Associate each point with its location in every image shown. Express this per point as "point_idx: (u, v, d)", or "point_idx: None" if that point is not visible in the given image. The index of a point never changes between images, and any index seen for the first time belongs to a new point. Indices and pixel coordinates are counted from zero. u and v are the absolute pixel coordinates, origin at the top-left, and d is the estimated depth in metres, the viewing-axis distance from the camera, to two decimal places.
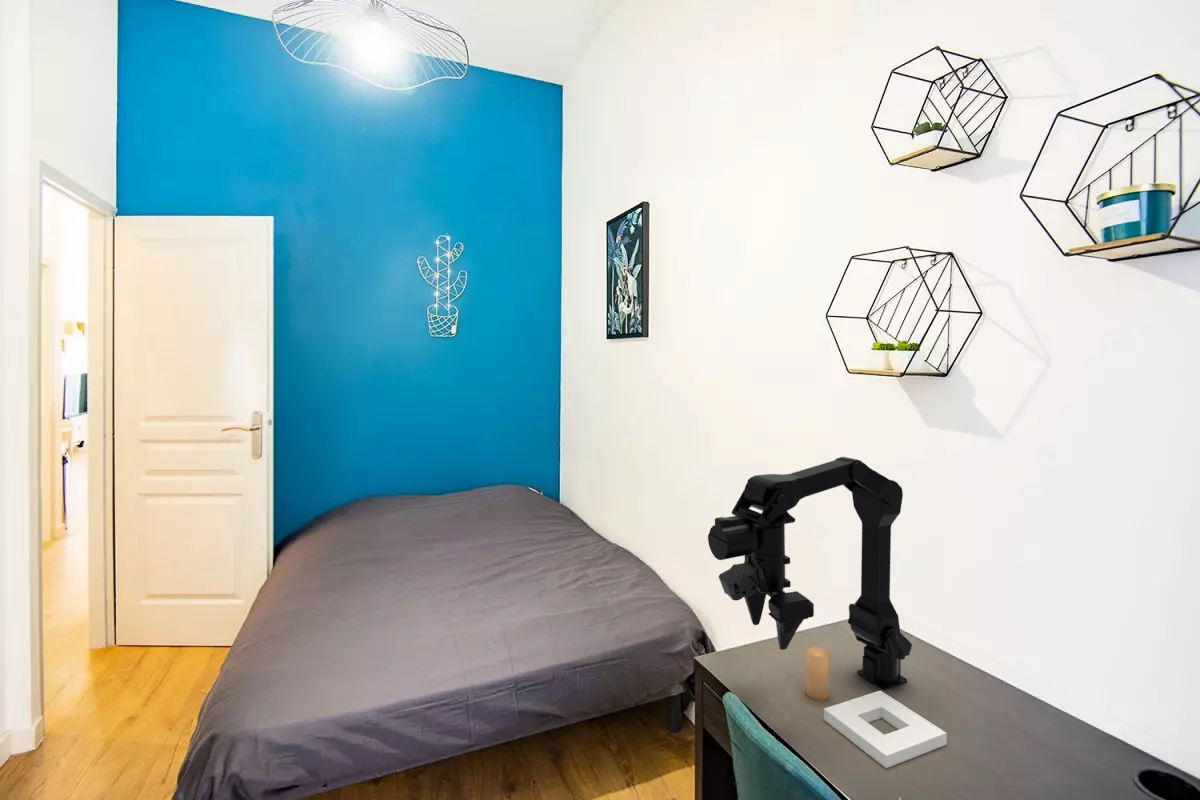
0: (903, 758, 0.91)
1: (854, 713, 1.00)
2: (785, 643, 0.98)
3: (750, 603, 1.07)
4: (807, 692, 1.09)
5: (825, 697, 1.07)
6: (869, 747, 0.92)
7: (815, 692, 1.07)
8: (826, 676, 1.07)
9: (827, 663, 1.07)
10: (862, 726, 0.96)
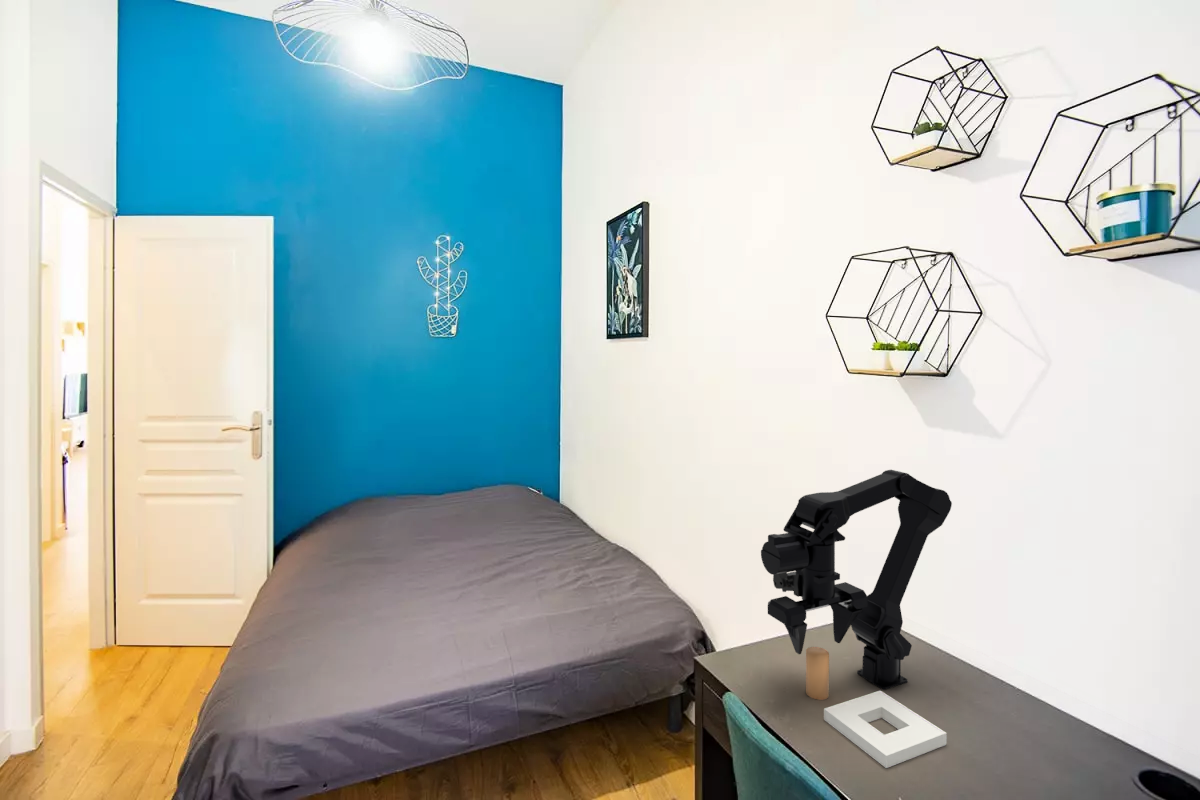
0: (903, 758, 0.91)
1: (854, 713, 1.00)
2: (796, 647, 1.06)
3: (834, 619, 1.11)
4: (807, 692, 1.09)
5: (825, 697, 1.07)
6: (869, 747, 0.92)
7: (815, 692, 1.07)
8: (826, 676, 1.07)
9: (827, 663, 1.07)
10: (862, 726, 0.96)
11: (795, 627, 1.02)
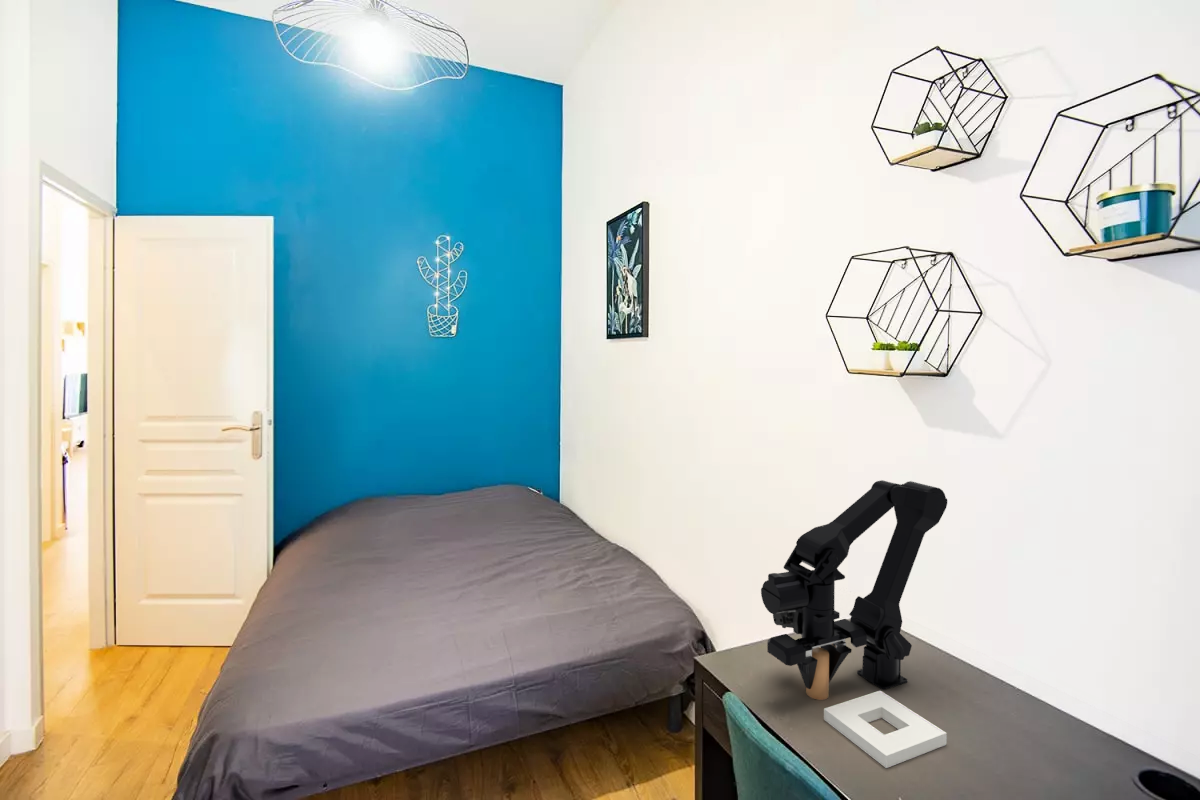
0: (903, 758, 0.91)
1: (854, 713, 1.00)
2: (806, 682, 1.08)
3: None
4: (807, 692, 1.09)
5: (825, 697, 1.07)
6: (869, 747, 0.92)
7: (815, 692, 1.07)
8: (826, 676, 1.07)
9: (827, 663, 1.07)
10: (862, 726, 0.96)
11: (806, 663, 1.04)
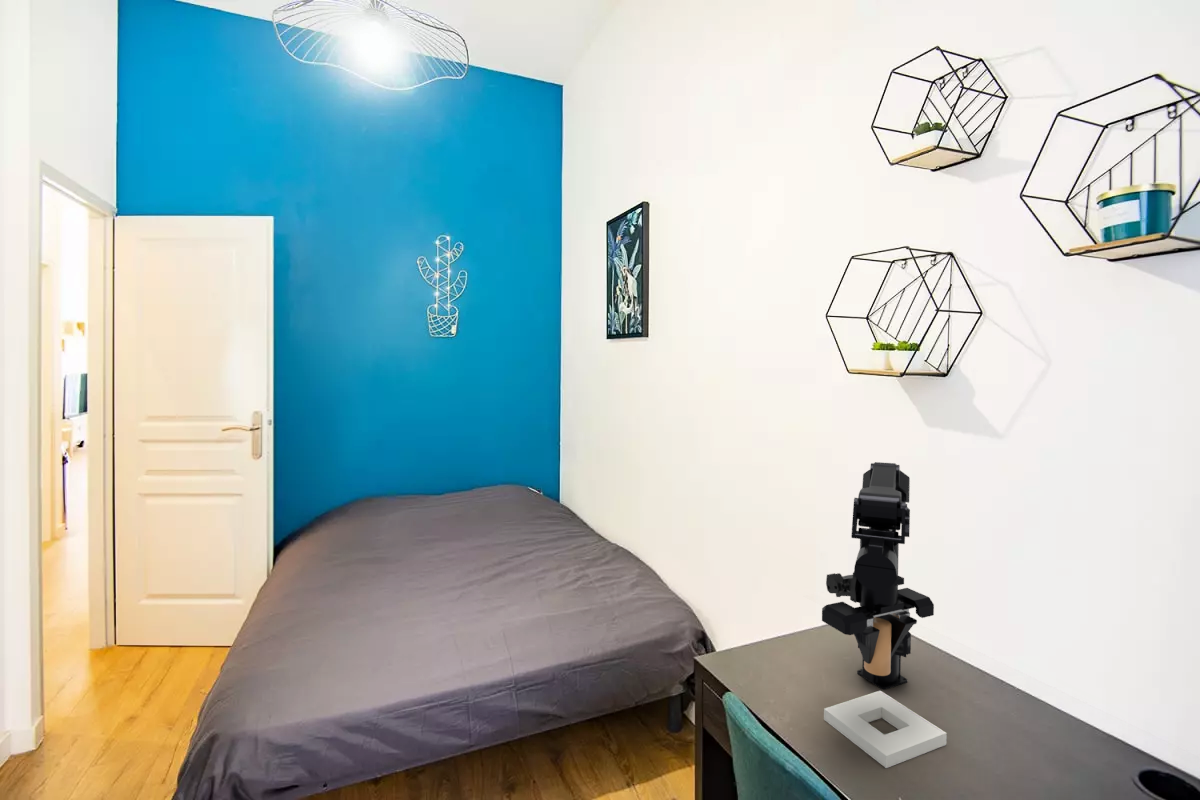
0: (903, 758, 0.91)
1: (854, 713, 1.00)
2: (865, 656, 0.96)
3: None
4: (866, 667, 0.97)
5: (887, 673, 0.96)
6: (869, 747, 0.92)
7: (875, 667, 0.96)
8: (888, 649, 0.95)
9: (889, 635, 0.95)
10: (862, 726, 0.96)
11: (866, 633, 0.92)
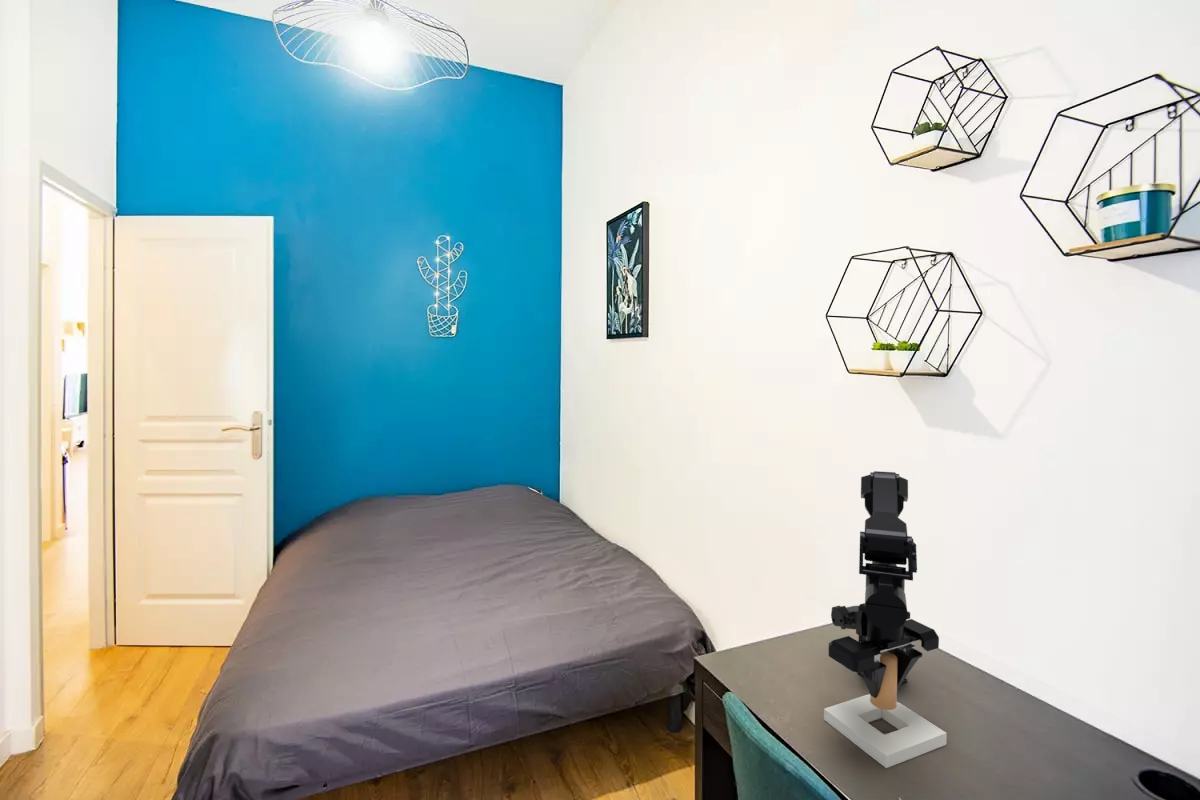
0: (903, 758, 0.91)
1: (854, 713, 1.00)
2: (871, 690, 0.96)
3: None
4: (872, 701, 0.97)
5: (893, 707, 0.96)
6: (869, 747, 0.92)
7: (882, 702, 0.95)
8: (894, 683, 0.95)
9: (896, 669, 0.95)
10: (862, 726, 0.96)
11: (874, 670, 0.92)
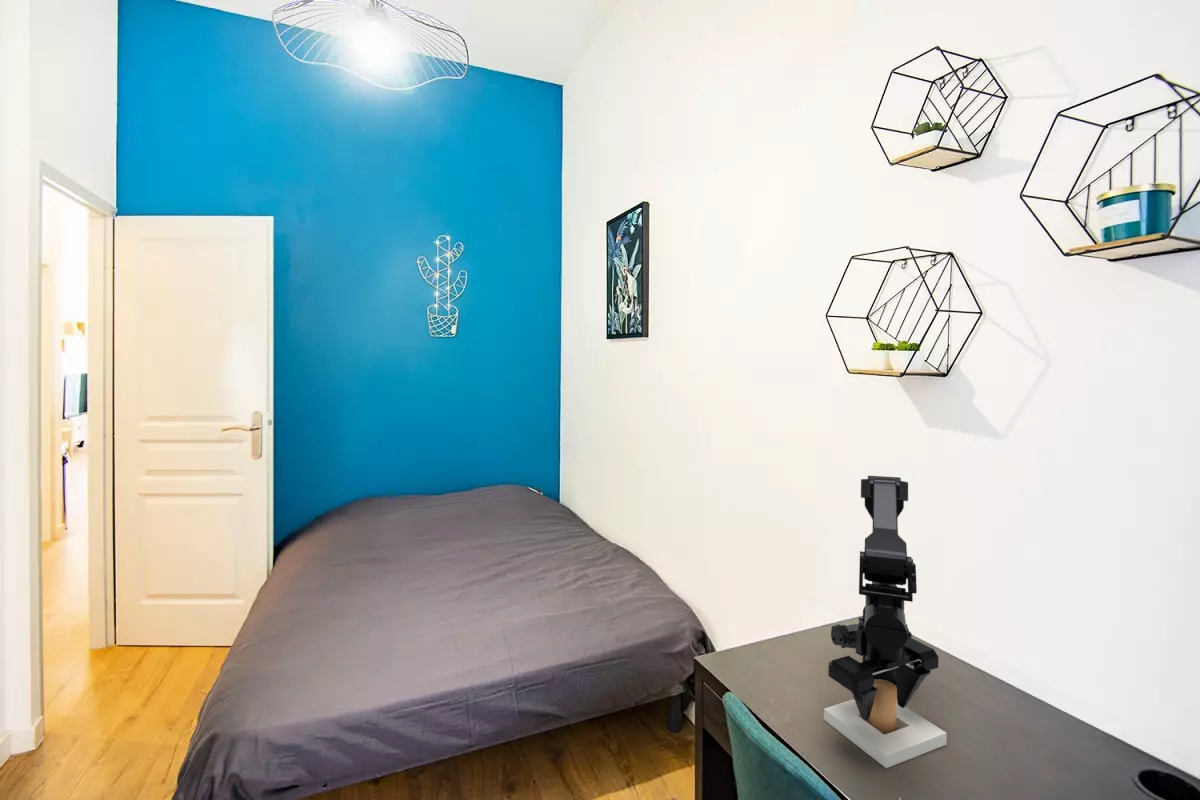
0: (903, 758, 0.91)
1: (854, 713, 1.00)
2: (862, 713, 0.95)
3: (897, 680, 1.00)
4: None
5: None
6: (869, 747, 0.92)
7: (882, 731, 0.96)
8: (894, 713, 0.96)
9: (895, 699, 0.96)
10: (862, 726, 0.96)
11: (864, 693, 0.92)
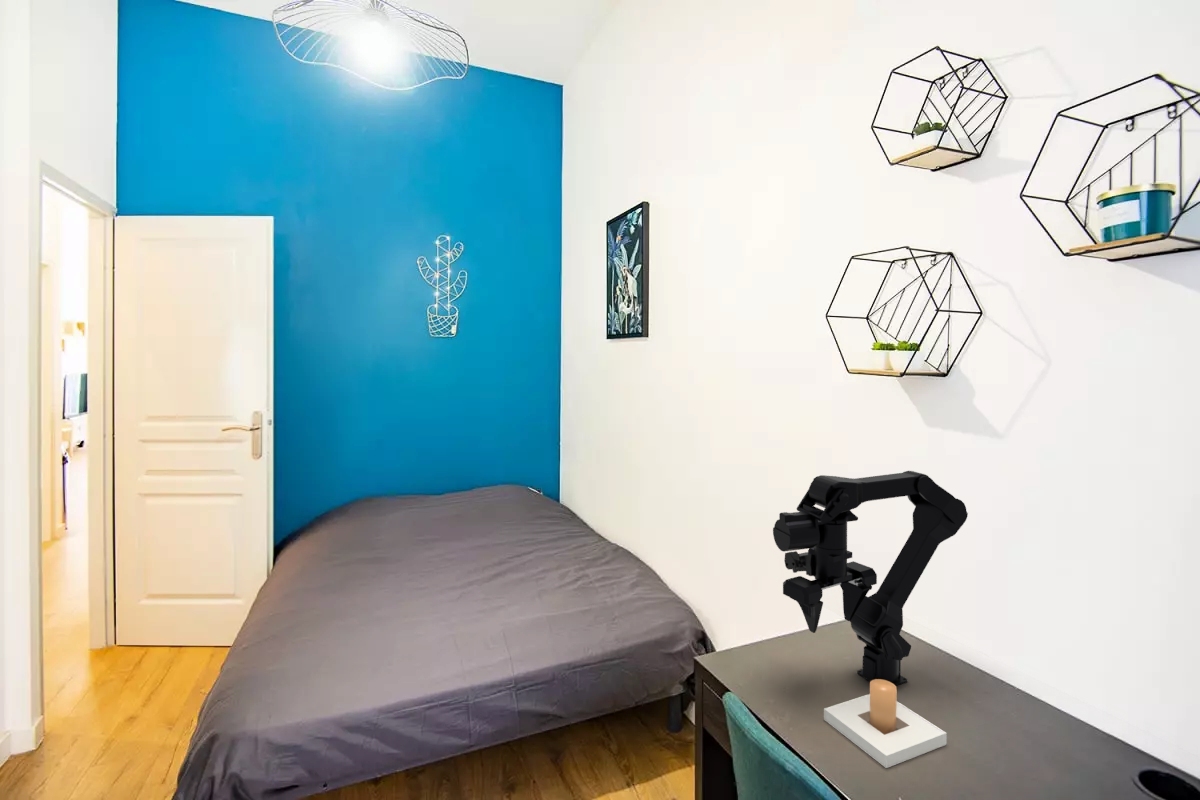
0: (903, 758, 0.91)
1: (854, 713, 1.00)
2: (810, 626, 1.07)
3: (844, 597, 1.13)
4: None
5: None
6: (869, 747, 0.92)
7: (882, 731, 0.96)
8: (894, 713, 0.96)
9: (895, 698, 0.96)
10: (862, 726, 0.96)
11: (812, 605, 1.03)
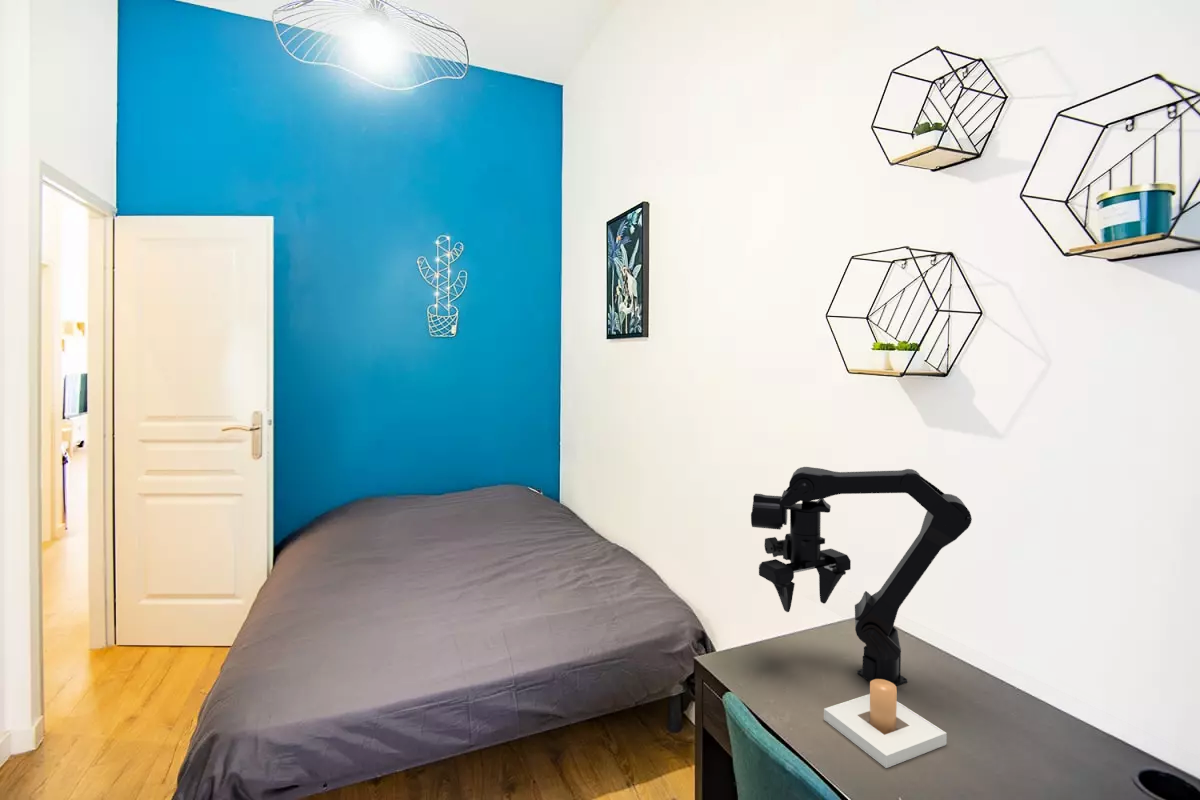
0: (903, 758, 0.91)
1: (854, 713, 1.00)
2: (784, 606, 1.16)
3: (820, 581, 1.20)
4: None
5: None
6: (869, 747, 0.92)
7: (882, 731, 0.96)
8: (894, 713, 0.96)
9: (895, 698, 0.96)
10: (862, 726, 0.96)
11: (783, 586, 1.12)
